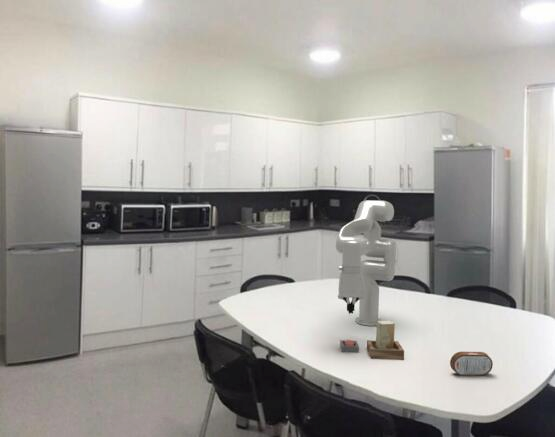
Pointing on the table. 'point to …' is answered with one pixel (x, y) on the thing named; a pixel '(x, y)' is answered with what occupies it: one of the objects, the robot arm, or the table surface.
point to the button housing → (349, 347)
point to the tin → (471, 363)
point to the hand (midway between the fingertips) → (350, 312)
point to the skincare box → (385, 335)
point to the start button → (349, 342)
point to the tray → (385, 351)
